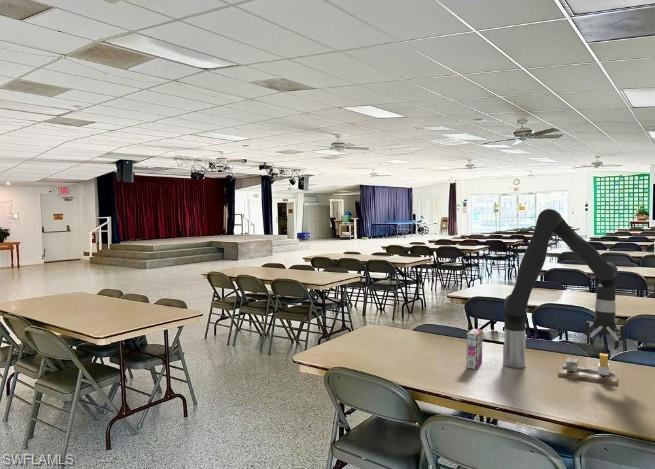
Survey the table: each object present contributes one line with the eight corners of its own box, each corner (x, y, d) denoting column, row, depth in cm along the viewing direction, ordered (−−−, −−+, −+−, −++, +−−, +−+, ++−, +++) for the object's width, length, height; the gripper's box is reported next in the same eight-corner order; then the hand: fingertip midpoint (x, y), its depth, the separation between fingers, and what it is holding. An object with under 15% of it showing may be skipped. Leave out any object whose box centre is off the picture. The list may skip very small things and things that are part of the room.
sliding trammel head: (597, 375, 200) (598, 355, 199) (598, 371, 205) (598, 351, 205) (608, 377, 198) (609, 357, 197) (608, 372, 203) (609, 353, 203)
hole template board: (558, 376, 206) (558, 361, 205) (560, 369, 214) (560, 355, 214) (617, 385, 195) (617, 369, 194) (616, 377, 203) (617, 363, 203)
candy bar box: (477, 370, 214) (477, 334, 213) (466, 368, 217) (466, 333, 216) (482, 363, 224) (483, 329, 223) (472, 361, 226) (472, 328, 226)
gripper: (624, 310, 199) (623, 347, 200) (586, 306, 206) (585, 342, 207) (625, 313, 193) (623, 352, 194) (585, 309, 200) (584, 346, 201)
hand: (603, 347), depth 200 cm, fingers open, 8 cm apart
